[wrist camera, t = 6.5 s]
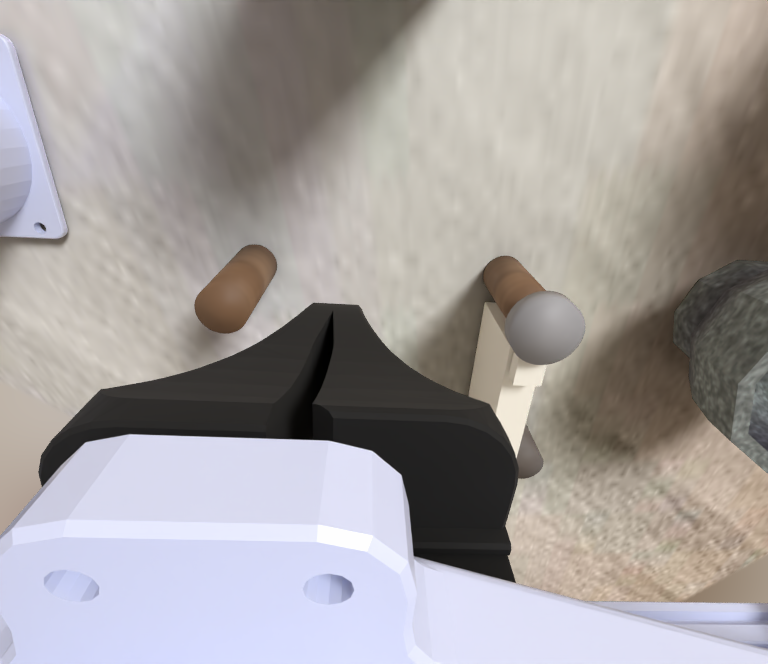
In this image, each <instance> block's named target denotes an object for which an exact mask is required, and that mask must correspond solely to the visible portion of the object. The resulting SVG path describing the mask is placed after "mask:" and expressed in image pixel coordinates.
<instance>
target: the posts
mask: <svg viewBox="0 0 768 664" xmlns="http://www.w3.org/2000/svg"><path fill="white" fill-rule="evenodd" d="M276 270H277V262H276V259H275V257H274V255H273V254H272V253H271V252H270V251H269V250H268V249H267V248H265V247H263V246H260V245H248V246H245V247H244V248H242V249H241V250H240V251H239V252H238V253H237V254H236V255H235V256H234V257H233V259H232V260H231V261H230V262H229V263H228V264H227V265H226V266H225V267H224V268H223V269H222V270H221V271H220V272H219V273H218V274H217V275H216V276H215V277H214V278H213V279H212V280H211V282H210V283H209V284H208V285H207V286H206V287H205V288H204V289H203V290H202V291H201V292H200V293H199V294H198V296H197V297H196V300H195V312H196V315H197V317H198V319H199V320H200V321H201V323H202V324H203V325H205V326H206V327H207V328H209V329H210V330H212V331H215V332H218V333H233V332H236V331H238V330H239V329H241V328H242V327H243V326H244V324H245V323H246V321H247V320H248V318H249V316H250V315H251V313H252V311H253V310H254V308H255V306H256V305H257V303H258V302H259V300H260V298H261V297H262V295H263V293H264V292H265V290H266V288H267V287H268V285H269V283H270V282H271V280H272V278H273V277H274V275H275V273H276ZM483 281H484V284H485V286H486V287H487V289H488V291H489V292H490V294H491V295H492V297H493V299H494V300H495V302H496V303H497V305H498V307H499V308H500V310H501V311H502V313H503V315H504V316H505V318H507V315H508V313H509V312H510V310H511V309H512V307H513V306H514V305H515V304H516V303H517V302H518V301H520V300H521V299H522V298H524V297H526V296H527V295H530V294H532V293H535V292H539V291H546V290H545V289H544V288H543V287H542V286H541V285H540V284H539V283H538V282H537V281H536V280H535V279H534V278H533V276H532V275H531V274H530V273H529V272H528V271H527V270H526V269H525V268H524V267H523V266H522V265H521V264H520V263H519V261H518V260H516V259H515V258H513V257H510V256H500V257H497V258H495V259H493V260H492V261H491V262H490V263H489V264H488V265H487V266H486V268H485V270H484V273H483ZM516 459H517V463H518V467H519V473H518V478H521V479H522V478H529V477H532V476H534V475H535V474H537V473H538V472H539V471H540V470H541V469H542V467H543V459H542V456H541V454H540V452H539V450H538V448H537V446H536V444H535V442H534V440H533V438H532V436H531V433H530V431H529V429H528V427H527V425H526V424H525V428H524V432H523V436H522V439H521V443H520V447H519V451H518V455H517V458H516Z"/></svg>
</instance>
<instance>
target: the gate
mask: <svg viewBox="0 0 768 664" xmlns="http://www.w3.org/2000/svg"><path fill="white" fill-rule="evenodd" d="M584 332H585V320H584V317H583V314H582V313H581V311H580V310H579V309H578V308H577V307H576V306H575V305H574V304H573V303H572V302H571V301H570V300H569V299H568V298H567V297H566V296H564V295H562V294H560V293H558V292H554V291H539V292H535V293H532V294H530V295H527V296H526V297H524V298H522V299H521V300H520V301H518V302H517V303H516V304H515V305H514V306H513V307H512V309H511V310H510V312H509V313H508V315H507V318H505V316H504V315H503V313H502V311H501V310H500V308H499V307H498V305H497V303H496V302H485V305H484V310H483V316H482V322H481V327H480V333H479V339H478V344H477V350H476V355H475V361H474V367H473V372H472V378H471V384H470V389H469V395H468V397H471V398H474V399H477V400H480V401H483V402H486V403H489V404H490V405H491V407H492V409H493V411H494V413H495V414H496V416H497V418H498V419H499V421H500V422H501V424H502V426H503V428H504V430H505V432H506V434H507V436H508V438H509V440H510V442H511V445H512V447H513V450H514V452H515V455H516V458H517V455H518V451H519V447H520V443H521V439H522V436H523V432H524V428H525V424H526V420H527V417H528V413H529V409H530V405H531V401H532V398H533V394H534V390H535V386H541V385H542V381H543V377H544V374H545V370H546V366H547V364H552V363H555V362H558V361H560V360H562V359H564V358H566V357H567V356H569V355H570V354H571V353H572V352H573V351H574V350H575V349H576V348H577V347H578V346H579V344H580V342H581V341H582V339H583V336H584Z"/></svg>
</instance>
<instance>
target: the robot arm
mask: <svg viewBox="0 0 768 664" xmlns="http://www.w3.org/2000/svg"><path fill="white" fill-rule="evenodd" d="M40 223H42V224H43V225H44V226H45V227H46V231H44V230H43V229H42V228H41V226H40ZM67 231H68V230H67V225H66V221H65V218H64V214H63V211H62V208H61V204H60V201H59V197H58V194H57V190H56V187H55V183H54V180H53V177H52V173H51V170H50V166H49V163H48V159H47V156H46V153H45V149H44V146H43V142H42V139H41V135H40V132H39V128H38V125H37V122H36V118H35V115H34V111H33V108H32V104H31V101H30V98H29V94H28V91H27V87H26V84H25V80H24V77H23V73H22V70H21V67H20V63H19V60H18V56H17V53H16V49H15V47H14V45H13V43H12V42H11V41H10V40H9V38H7V37H6V36H4V35H3V34H0V237H22V238H44V239H58V238H61V237H64V236H65V235H66V234H67ZM518 473H519V467H518V463H517V459H516V455H515V452H514V450H513V447H512V445H511V442H510V440H509V438H508V436H507V434H506V432H505V430H504V428H503V426H502V424H501V422H500V421H499V419H498V418H497V416H496V414H495V413H494V411H493V409H492V407H491V405H490V404H489V403H486V402H483V401H480V400H477V399H474V398H471V397H468V396H466V395H463V394H460V393H457V392H455V391H452V390H450V389H448V388H446V387H444V386H441V385H439V384H437V383H435V382H433V381H432V380H430V379H428V378H426V377H424V376H423V375H421V374H420V373H418V372H417V371H415V370H413V369H412V368H410V367H409V366H408V365H406V364H405V363H404V362H403V361H401V360H400V359H399V358H398V357H397V356H395V355H394V354H393V353H392V352H391V351H390V350H389V349H388V348H387V347H386V346H385V344H384V343H383V342H382V341H381V340H380V338H379V337H378V336H377V334H376V333H375V332H374V330H373V329H372V328H371V326H370V324H369V323H368V321H367V319H366V318H365V316H364V314H363V311H362V309H361V308H360V306H359V305H347V304H327V303H313V304H311V305H310V306H309V307H307V308H306V309H305V310H304V311H303V312H301V313H300V314H299V315H298V316H296V317H295V318H294V319H292V320H291V321H290V322H288V323H287V324H286V325H285V326H283V327H282V328H280V329H279V330H277V331H276V332H274V333H273V334H271V335H270V336H268V337H267V338H265V339H263V340H262V341H260V342H258V343H257V344H255V345H253V346H251V347H249V348H247V349H245V350H243V351H241V352H239V353H237V354H235V355H233V356H230V357H228V358H225V359H222V360H220V361H217V362H214V363H212V364H209V365H206V366H204V367H201V368H198V369H195V370H191V371H188V372H185V373H181V374H177V375H173V376H169V377H166V378H161V379H157V380H152V381H147V382H142V383H136V384H131V385H125V386H119V387H114V388H107V389H101V390H100V391H99V392H98V393H97V394H96V395H95V396H94V397H93V398H92V399H91V400H90V401H89V402H88V403H87V404H86V405H85V406H84V407H83V408H82V409H81V410H80V411H79V412H78V413H77V414H76V415H75V416H74V417H73V418H72V420H71V421H70V422H69V423H68V424H67V425H66V426H65V427H64V428H63V429H62V430H61V431H60V432H59V433H58V434H57V435H56V436H55V437H54V438H53V439H52V440H51V442H50V443H49V445H48V446H47V448H46V449H45V451H44V452H43V454H42V455H41V460H40V466H39V477H40V481H41V485H42V488H41V489H40V490H39V492H38V493H37V494H36V495H35V496H34V497H33V499H32V500H31V501H30V502H29V503H28V504H27V505H26V507H25V508H24V509H23V510H22V511H21V512H20V513H19V515H18V516H17V517H16V518H15V519H14V520H13V522H12V523H11V524H10V525H9V526H8V527H7V529H6V530H5V531H4V532H3V533H2V534H1V535H0V664H768V603H707V602H706V603H704V602H703V603H701V602H625V601H583V600H579V599H575V598H571V597H567V596H564V595H560V594H556V593H552V592H548V591H545V590H541V589H537V588H533V587H529V586H526V585H522V584H518V583H516V582H515V579H514V575H513V572H512V569H511V565H510V562H509V559H508V556H507V555H510V552H511V543H510V540H509V536H508V533H507V530H506V527H505V525H506V521H507V518H508V514H509V511H510V508H511V504H512V501H513V497H514V494H515V490H516V487H517V482H518Z"/></svg>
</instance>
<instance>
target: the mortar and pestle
mask: <svg viewBox="0 0 768 664" xmlns="http://www.w3.org/2000/svg"><path fill="white" fill-rule="evenodd" d="M673 343H674V344H675V345H676V346H677V347H679V348H680V349H681V350H682V351H683V352H684V353H685V354H686V355H687V356H688V357H689V358H690V362H689V381H690V387H691V393H692V399H693V400H694V401H695V403H696V404H697V405H698V407H699V408H700V409H701V411H702V412H703V413H704V415H705V416H706V417H707V419H708V420H709V421H710V422H711V423H712V424H713V425H714V426H715V427H716V428H717V429H718V430H719V431H720V432H721V433H722V434H724V435H725V436H726V437H727V438H728V439H729V440H730V441H731V442H732V443H733V444H735V445H736V446H737V447H738V448H739V449H740V450H741V451H742V452H744V453H745V454H746V455H747V456H748V457H749V458H750V459H752V460H753V461H754V462H755V463H756V464H757V465H758V466H760V467H761V468H762V469H763V470H764V471H765V472H766V473H768V261H746V260H736V261H735V262H733V263H731V264H729V265H727V266H725V267H723V268H721V269H719V270H717V271H715V272H713V273H711V274H709V275H707V276H706V277H704V278H702V279H700V280H698V281H697V283H696V284H695V285H694V287H693V288H692V289H691V291H690V292H689V293H688V295H687V296H686V297H685V299H684V300H683V301H682V303H681V304H680V305H679V307H678V308H677V309H676V311H675V312H674V333H673Z"/></svg>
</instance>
